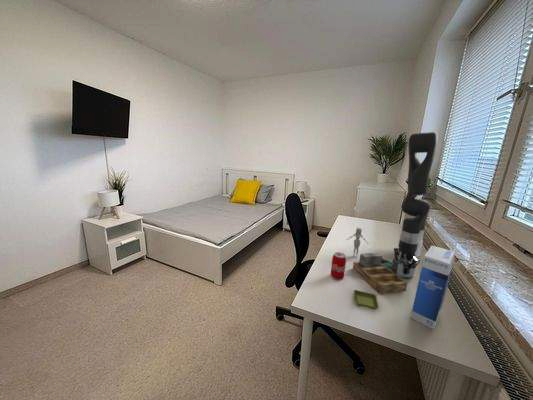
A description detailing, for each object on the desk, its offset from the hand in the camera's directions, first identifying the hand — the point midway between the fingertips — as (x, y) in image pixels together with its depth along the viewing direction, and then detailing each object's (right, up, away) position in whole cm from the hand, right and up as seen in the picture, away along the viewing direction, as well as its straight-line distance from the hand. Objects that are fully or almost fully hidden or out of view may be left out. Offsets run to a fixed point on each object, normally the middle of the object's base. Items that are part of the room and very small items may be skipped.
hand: (402, 271), depth 105 cm
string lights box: (-7, -9, -24) cm, 27 cm away
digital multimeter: (-5, 0, +14) cm, 14 cm away
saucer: (-27, -7, -18) cm, 33 cm away
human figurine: (-16, +2, +20) cm, 25 cm away
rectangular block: (0, -2, 0) cm, 2 cm away
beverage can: (-33, -2, -1) cm, 33 cm away
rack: (-14, -3, -2) cm, 14 cm away
